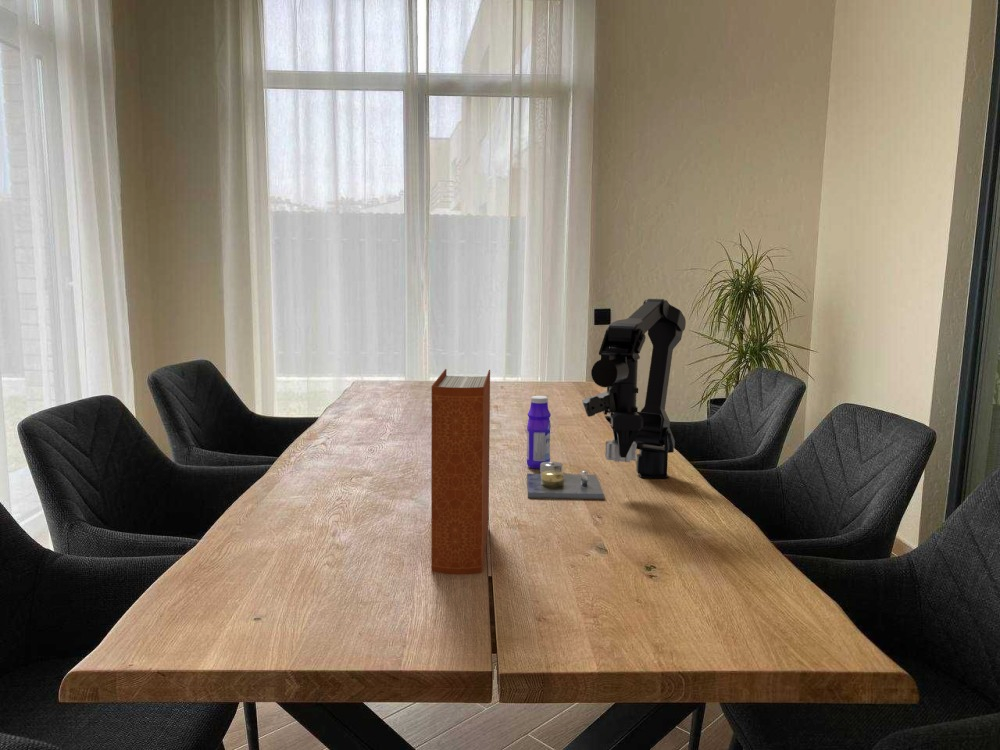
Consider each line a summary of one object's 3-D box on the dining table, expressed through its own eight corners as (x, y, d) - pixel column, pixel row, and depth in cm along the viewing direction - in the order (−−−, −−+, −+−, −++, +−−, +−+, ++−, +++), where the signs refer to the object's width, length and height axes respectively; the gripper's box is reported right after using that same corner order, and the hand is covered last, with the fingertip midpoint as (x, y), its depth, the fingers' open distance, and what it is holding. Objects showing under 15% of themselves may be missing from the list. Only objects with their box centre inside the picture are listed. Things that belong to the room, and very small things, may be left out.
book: (444, 527, 149) (445, 368, 145) (488, 528, 149) (490, 369, 145) (430, 574, 127) (430, 387, 123) (481, 575, 126) (483, 388, 123)
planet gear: (633, 455, 175) (633, 439, 175) (637, 462, 169) (638, 446, 168) (604, 454, 175) (604, 439, 175) (607, 461, 169) (608, 445, 168)
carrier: (595, 479, 185) (596, 460, 184) (603, 499, 169) (604, 478, 169) (526, 478, 185) (527, 459, 185) (528, 498, 169) (528, 477, 169)
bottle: (547, 470, 193) (549, 399, 191) (524, 469, 194) (525, 398, 192) (551, 463, 200) (553, 395, 198) (529, 462, 201) (530, 394, 199)
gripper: (581, 375, 179) (579, 443, 181) (589, 387, 161) (587, 463, 163) (631, 376, 179) (629, 444, 181) (645, 388, 160) (642, 464, 162)
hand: (620, 453), depth 172 cm, fingers closed on planet gear, 6 cm apart
